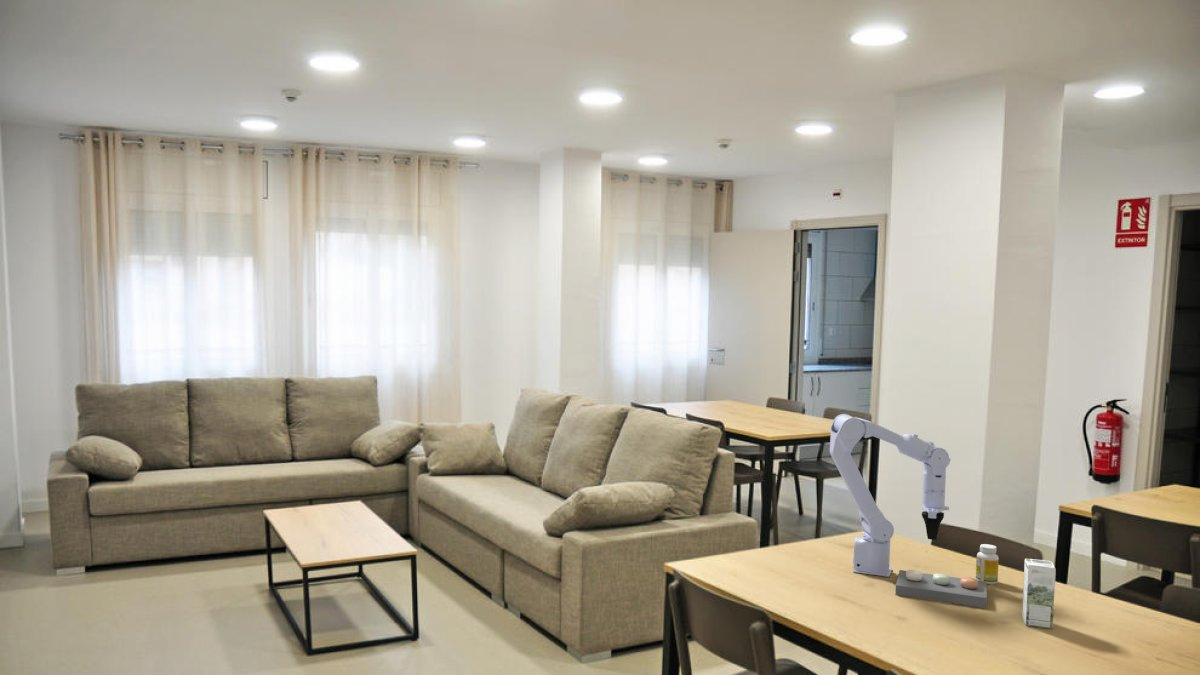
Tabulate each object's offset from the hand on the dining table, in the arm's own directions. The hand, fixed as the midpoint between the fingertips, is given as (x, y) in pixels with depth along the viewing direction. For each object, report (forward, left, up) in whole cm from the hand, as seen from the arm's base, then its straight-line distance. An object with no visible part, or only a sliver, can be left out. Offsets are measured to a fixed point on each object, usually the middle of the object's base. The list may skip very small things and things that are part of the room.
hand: (931, 538), depth 234 cm
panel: (+3, -17, -9) cm, 20 cm away
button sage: (+3, -17, -9) cm, 19 cm away
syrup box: (+24, -30, -10) cm, 40 cm away
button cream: (-3, -17, -9) cm, 19 cm away
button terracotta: (+9, -17, -9) cm, 21 cm away
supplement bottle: (+14, -1, -10) cm, 17 cm away
